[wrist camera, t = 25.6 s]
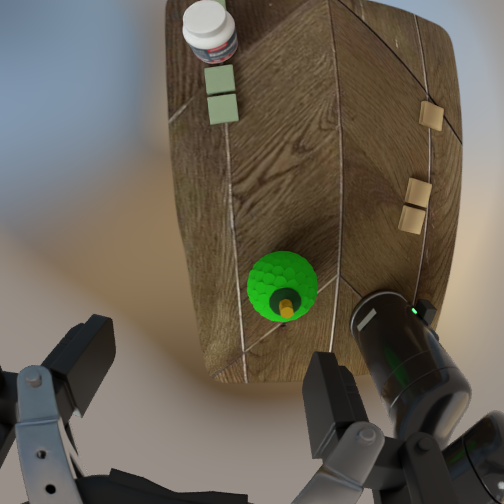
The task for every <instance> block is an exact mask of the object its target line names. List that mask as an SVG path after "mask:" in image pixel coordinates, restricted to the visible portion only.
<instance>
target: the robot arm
mask: <svg viewBox="0 0 504 504" xmlns="http://www.w3.org/2000/svg"><path fill="white" fill-rule="evenodd" d="M436 311H437V309H436V308H435V307H434V306H433V305H432V304H431V303H430V302H429V301H428V300H421V299H418V302H417V304H416V307H414V306H413V305H412V304H411V302H407V301H406V300H405V298H404V297H403V296H402V295H401V294H400V293H398V292H396V291H393V290H379V291H376V292H373V293H371V294H369V295H368V296H366V297H365V298H363V299H362V300H361V301H360V302H359V303H358V304H357V306H356V307H355V309H354V310H353V312H352V314H351V317H350V323H349V325H350V331H351V333H352V336H353V338H354V339H355V341H356V343H357V345H358V347H359V350H360V352H361V354H362V356H363V359H364V361H365V363H366V365H367V368H368V370H369V372H370V375H371V377H372V379H373V381H374V384H375V386H376V389H377V391H378V393H379V395H380V398H381V400H382V403H383V405H384V408H385V410H386V413H387V415H388V417H389V420H390V422H391V425H392V428H393V438H390V437H386V436H384V434H383V432H382V431H381V429H380V428H379V427H377V426H376V425H374V424H372V423H370V422H369V420H368V417H367V414H366V411H365V408H364V405H363V402H362V400H361V397H360V394H359V391H358V388H357V386H356V383H355V380H354V377H353V375H352V373H351V372H350V371H349V370H348V369H347V368H346V367H345V366H338V363H337V360H336V357H335V354H334V353H330V352H317V351H315V352H314V353H313V355H312V358H311V361H310V364H309V367H308V370H307V372H306V375H305V378H304V381H303V388H302V393H303V400H304V406H305V412H306V418H307V426H308V432H309V439H310V445H311V453H312V459H319V458H322V460H323V465H322V466H321V467H320V468H319V470H318V471H317V472H316V474H315V475H314V476H313V477H312V479H311V480H310V481H309V482H308V484H307V485H306V486H305V487H304V489H303V490H302V491H301V492H300V493H299V495H298V496H297V497H296V498H295V499H294V500H293V502H292V503H291V504H356V503H357V501H358V499H359V498H360V496H361V494H362V492H363V489H364V488H370V489H372V493H373V498H374V504H504V413H503V412H501V411H497V410H494V411H491V412H489V413H487V414H486V415H485V416H483V417H482V418H481V419H480V420H479V421H477V422H476V423H475V424H474V425H473V426H472V427H471V428H469V429H468V430H467V431H466V432H465V433H463V434H462V435H461V436H460V437H458V438H457V439H456V440H455V441H454V442H452V443H451V444H450V445H449V446H448V443H449V440H450V438H451V436H452V434H453V432H454V430H455V428H456V426H457V424H458V423H459V421H460V420H461V418H462V417H463V415H464V413H465V412H466V410H467V408H468V406H469V404H470V401H471V396H472V389H471V386H470V384H469V382H468V380H467V379H466V377H465V376H464V374H463V373H462V372H461V371H460V369H459V368H458V366H457V365H456V364H455V362H454V361H453V360H452V358H451V357H450V356H449V355H448V353H447V352H446V351H445V349H444V348H443V347H442V345H441V344H440V343H439V342H438V341H439V337H438V335H437V334H436V332H435V331H434V330H433V329H432V327H431V326H430V325H431V322H432V320H433V318H434V316H435V313H436ZM115 354H116V346H115V338H114V329H113V321H112V319H111V318H109V317H105V316H101V315H97V314H93V315H92V316H91V317H90V318H89V319H88V321H87V322H86V323H85V324H84V323H80V324H78V325H76V326H75V327H73V328H71V329H70V330H69V331H68V333H67V334H66V335H65V337H64V338H62V340H61V341H60V342H59V344H57V346H56V347H55V348H54V349H53V351H52V352H51V353H50V354H49V355H48V357H47V358H46V359H45V360H44V361H43V363H42V364H41V365H31V366H28V367H26V368H24V369H23V370H21V371H20V373H12V372H6V371H2V368H1V366H0V468H1V466H2V464H3V462H4V460H5V458H6V456H7V454H8V452H9V450H10V448H11V446H12V444H13V442H14V440H15V438H16V442H17V448H18V455H19V460H20V466H21V471H22V475H23V480H24V484H25V488H26V492H27V496H28V500H29V501H27V502H24V503H22V504H253V503H249V502H248V495H245V494H233V493H224V492H215V491H209V492H185V493H178V492H174V491H171V490H169V489H167V488H164V487H162V486H160V485H158V484H156V483H154V482H152V481H150V480H148V479H146V478H144V477H140V476H136V475H133V474H130V473H126V472H123V471H120V470H117V469H113V468H112V469H111V471H110V474H109V475H91V476H89V475H88V473H87V471H86V469H85V467H84V465H83V462H82V460H81V457H80V454H79V451H78V448H77V445H76V441H75V438H74V435H73V432H72V428H71V424H70V421H69V419H70V417H71V416H72V414H73V415H75V416H78V417H81V418H82V417H83V415H84V413H85V411H86V410H87V408H88V406H89V404H90V402H91V401H92V398H93V397H94V395H95V393H96V391H97V390H98V388H99V386H100V384H101V382H102V381H103V379H104V377H105V375H106V374H107V372H108V370H109V368H110V367H111V365H112V363H113V361H114V358H115Z"/></svg>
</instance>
